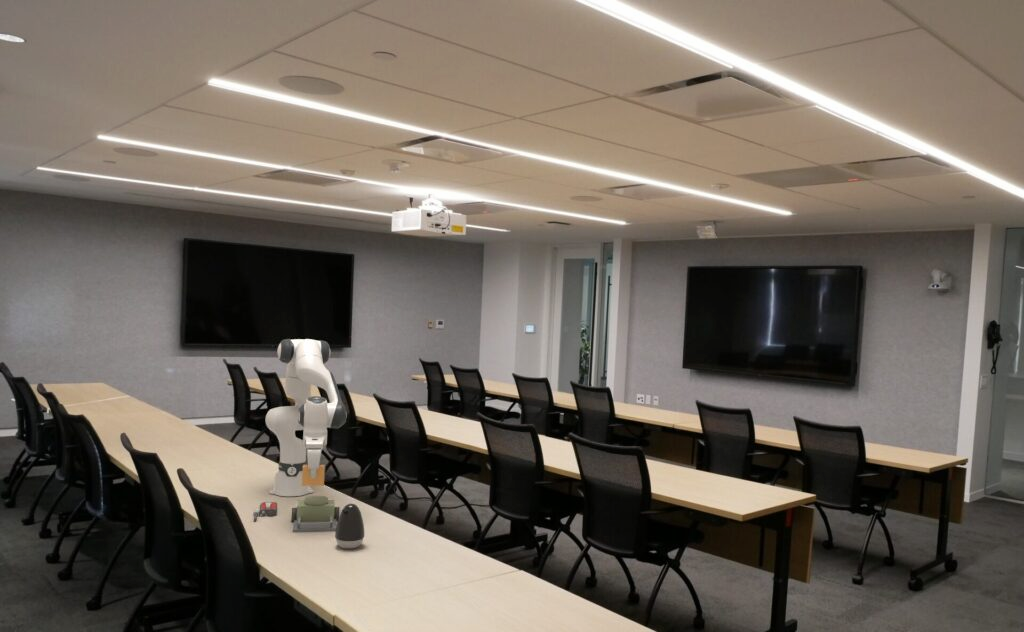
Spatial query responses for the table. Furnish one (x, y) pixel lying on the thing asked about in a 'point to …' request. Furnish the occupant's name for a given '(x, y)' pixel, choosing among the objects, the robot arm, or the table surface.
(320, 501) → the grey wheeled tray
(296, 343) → the robot arm
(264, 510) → the walkie-talkie
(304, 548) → the table surface
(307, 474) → the orange cardboard box
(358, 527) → the pump dispenser
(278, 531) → the table surface
